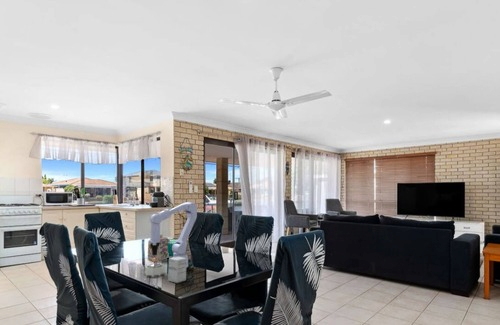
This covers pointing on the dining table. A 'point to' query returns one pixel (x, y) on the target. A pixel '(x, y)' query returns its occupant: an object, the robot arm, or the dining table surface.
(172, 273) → the supplement box
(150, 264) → the copper-knobbed silver dome
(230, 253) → the dining table surface
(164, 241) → the decorative jar
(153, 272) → the octagonal hollow frame
